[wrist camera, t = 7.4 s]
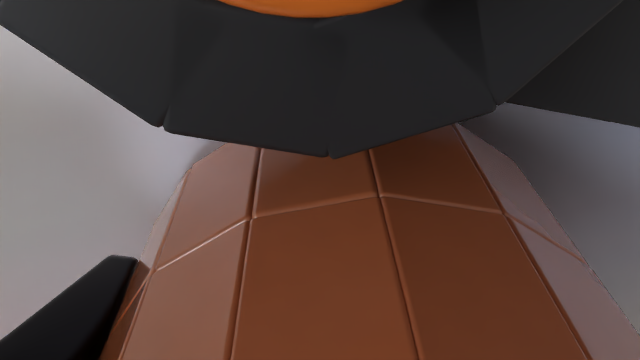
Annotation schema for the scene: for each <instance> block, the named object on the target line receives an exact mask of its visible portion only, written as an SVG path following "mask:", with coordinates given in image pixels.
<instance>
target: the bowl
mask: <svg viewBox="0 0 640 360" xmlns="http://www.w3.org/2000/svg"><path fill="white" fill-rule="evenodd" d="M99 360H640V335H639V334H638V332H637V331H636V330H635V328H634V327H633V325H632V324H631V323H630V321H629V320H628V318H627V317H626V316H625V314H624V313H623V311H622V310H621V309H620V307H619V306H618V305H617V303H616V302H615V300H614V299H613V298H612V296H611V295H610V293H609V292H608V291H607V289H606V288H605V286H604V285H603V284H602V282H601V281H600V279H599V278H598V277H597V275H596V274H595V273H594V271H593V270H591V269H590V267H589V265H588V263H587V262H586V260H585V259H584V258H583V256H582V255H581V254H580V252H579V251H578V249H577V248H576V247H575V245H574V244H573V242H572V241H571V240H570V238H569V237H568V235H567V234H566V233H565V231H564V230H563V228H562V227H561V226H560V224H559V223H558V221H557V220H556V219H555V217H554V216H553V215H552V213H551V212H550V210H549V209H548V208H547V206H546V205H545V203H544V202H543V201H542V199H541V198H540V196H539V195H538V194H537V192H536V191H535V189H534V188H533V187H532V185H531V184H530V182H529V181H528V180H527V178H526V177H525V175H524V174H523V173H522V171H521V170H520V169H519V167H518V166H517V165H516V163H515V162H514V161H513V160H512V159H510V158H509V157H507V156H506V155H504V154H503V153H502V152H500V151H499V150H497V149H496V148H494V147H493V146H491V145H490V144H488V143H487V142H485V141H484V140H482V139H481V138H479V137H478V136H476V135H475V134H473V133H472V132H470V131H469V130H467V129H466V128H464V127H463V126H461V125H460V124H458V123H454V124H451V125H448V126H444V127H441V128H438V129H434V130H431V131H428V132H424V133H421V134H418V135H415V136H411V137H408V138H405V139H401V140H398V141H395V142H391V143H388V144H385V145H381V146H378V147H375V148H371V149H368V150H365V151H361V152H358V153H355V154H351V155H348V156H345V157H342V158H338V159H332V158H331V157H330V156H329V155H328V157H322V158H321V157H315V156H309V155H303V154H297V153H290V152H284V151H278V150H272V149H265V148H259V147H253V146H247V145H240V144H234V143H226V144H224V145H223V146H221V147H220V148H218V149H217V150H215V151H213V152H212V153H210V154H209V155H207V156H206V157H204V158H202V159H201V160H199V161H198V162H196V163H195V164H193V166H192V167H191V169H189V170H188V171H187V172H186V173H185V175H184V176H183V178H182V180H181V181H180V183H179V185H178V186H177V188H176V189H175V191H174V193H173V194H172V196H171V197H170V199H169V201H168V202H167V204H166V206H165V207H164V209H163V210H162V212H161V214H160V215H159V217H158V218H157V220H156V222H155V223H154V225H153V228H152V230H151V233H150V235H149V238H148V240H147V243H146V245H145V248H144V250H143V253H142V255H141V257H140V260H139V262H138V265H137V267H136V270H135V272H134V275H133V277H132V280H131V282H130V285H129V287H128V290H127V292H126V294H125V297H124V299H123V302H122V304H121V307H120V309H119V312H118V314H117V317H116V319H115V322H114V324H113V326H112V329H111V333H110V335H109V338H108V340H107V341H106V343H105V345H104V348H103V350H102V353H101V355H100V358H99Z"/></svg>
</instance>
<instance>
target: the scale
mask: <svg viewBox="0 0 640 360" xmlns="http://www.w3.org/2000/svg"><path fill="white" fill-rule="evenodd" d="M0 25H1V26H3V27H4V28H6V29H7V30H9V31H10V32H12V33H13V34H15V35H16V36H18V37H19V38H21V39H22V40H24V41H25V42H27V43H28V44H30V45H31V46H33V47H35V48H36V49H38V50H39V51H41V52H42V53H44V54H45V55H47V56H48V57H50V58H51V59H53V60H54V61H56V62H57V63H59V64H60V65H62V66H63V67H65V68H66V69H68V70H69V71H71V72H72V73H74V74H75V75H77V76H78V77H80V78H81V79H83V80H84V81H86V82H87V83H89V84H90V85H92V86H93V87H95V88H96V89H98V90H99V91H101V92H102V93H104V94H105V95H107V96H108V97H110V98H111V99H113V100H114V101H116V102H117V103H119V104H120V105H122V106H123V107H125V108H126V109H128V110H129V111H131V112H132V113H134V114H135V115H137V116H138V117H140V118H141V119H143V120H144V121H146V122H147V123H149V124H150V125H152V126H156V127H160V126H162V125H163V127H164V130H165V131H167V132H169V133H172V134H178V135H184V136H191V137H197V138H203V139H209V140H215V141H222V142H228V143H234V144H240V145H247V146H253V147H259V148H265V149H272V150H278V151H284V152H290V153H297V154H303V155H309V156H315V157H321V158H322V157H328V155H329V156H330V157H331V158H332V159H338V158H342V157H345V156H348V155H351V154H355V153H358V152H361V151H365V150H368V149H371V148H375V147H378V146H381V145H385V144H388V143H391V142H395V141H398V140H401V139H405V138H408V137H411V136H415V135H418V134H421V133H424V132H428V131H431V130H434V129H438V128H441V127H444V126H448V125H451V124H454V123H458V122H461V121H464V120H468V119H471V118H474V117H478V116H481V115H484V114H488V113H491V112H493V111H495V109H496V105H498V106H499V105H501V104H503V103H505V102H506V103H512V104H517V105H523V106H528V107H533V108H539V109H544V110H549V111H555V112H560V113H565V114H571V115H576V116H581V117H587V118H592V119H598V120H603V121H608V122H614V123H619V124H624V125H630V126H635V127H640V0H403V1H401V2H399V3H396V4H393V5H390V6H386V7H382V8H379V9H375V10H371V11H368V12H364V13H359V14H352V15H345V16H337V17H330V18H293V17H285V16H277V15H270V14H262V13H258V12H254V11H251V10H247V9H243V8H239V7H236V6H232V5H228V4H226V3H223V2H221V1H218V0H0Z"/></svg>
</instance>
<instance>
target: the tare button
mask: <svg viewBox="0 0 640 360" xmlns="http://www.w3.org/2000/svg"><path fill="white" fill-rule="evenodd" d="M218 1H221V2H223V3H226V4H228V5H232V6H236V7H239V8H243V9H247V10H251V11H254V12H258V13H262V14H270V15H277V16H285V17H293V18H330V17H337V16H345V15H352V14H359V13H364V12H368V11H371V10H375V9H379V8H382V7H386V6H390V5H393V4H396V3H399V2H401V1H403V0H218Z"/></svg>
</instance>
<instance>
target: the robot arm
mask: <svg viewBox="0 0 640 360" xmlns="http://www.w3.org/2000/svg"><path fill="white" fill-rule="evenodd" d="M137 265H138V260H137V259H136V258H134V257H127V256H119V255H111V256H108V257H107V258H105V259H104V260H103V261H101V262H100V263H99V264H98V265H96V266H95V267H94V268H93V269H91V270H90V271H89V272H87V273H86V274H85V275H84V276H82V277H81V278H80V279H78V280H77V281H76V282H75V283H73V284H72V285H71V286H69V287H68V288H67V289H66V290H64V291H63V292H62V293H61V294H59V295H58V296H57V297H55V298H54V299H53V300H52V301H50V302H49V303H48V304H46V305H45V306H44V307H43V308H41V309H40V310H39V311H38V312H36V313H35V314H34V315H32V316H31V317H30V318H29V319H27V320H26V321H25V322H23V323H22V324H21V325H20V326H18V327H17V328H16V329H14V330H13V331H12V332H11V333H9V334H8V335H7V336H6V337H4V338H3V339H2V340H0V360H99V358H100V355H101V353H102V350H103V348H104V345H105V343H106V341H107V340H108V338H109V335H110V333H111V329H112V326H113V324H114V322H115V319H116V317H117V314H118V312H119V309H120V307H121V304H122V302H123V299H124V297H125V294H126V292H127V290H128V287H129V285H130V282H131V280H132V277H133V275H134V272H135V270H136V267H137Z"/></svg>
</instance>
